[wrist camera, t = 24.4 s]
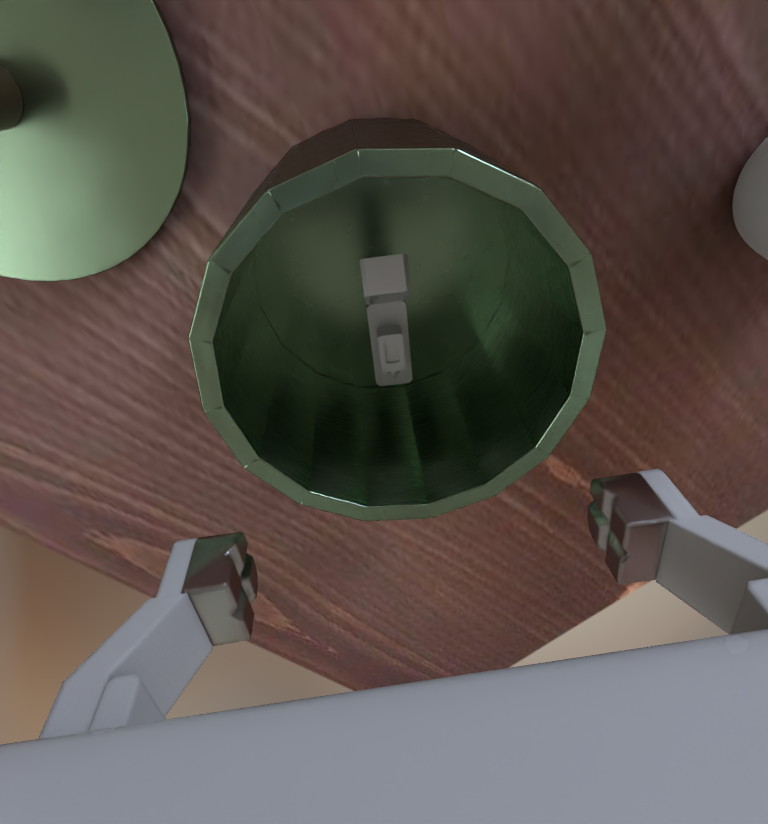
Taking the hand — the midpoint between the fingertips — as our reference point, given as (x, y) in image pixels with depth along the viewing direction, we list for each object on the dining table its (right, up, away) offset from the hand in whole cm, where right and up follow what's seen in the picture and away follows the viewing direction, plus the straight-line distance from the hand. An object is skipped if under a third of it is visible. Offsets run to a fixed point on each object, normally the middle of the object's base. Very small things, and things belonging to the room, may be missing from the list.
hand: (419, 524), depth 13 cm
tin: (-1, +10, +15) cm, 18 cm away
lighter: (-1, +9, +15) cm, 18 cm away
